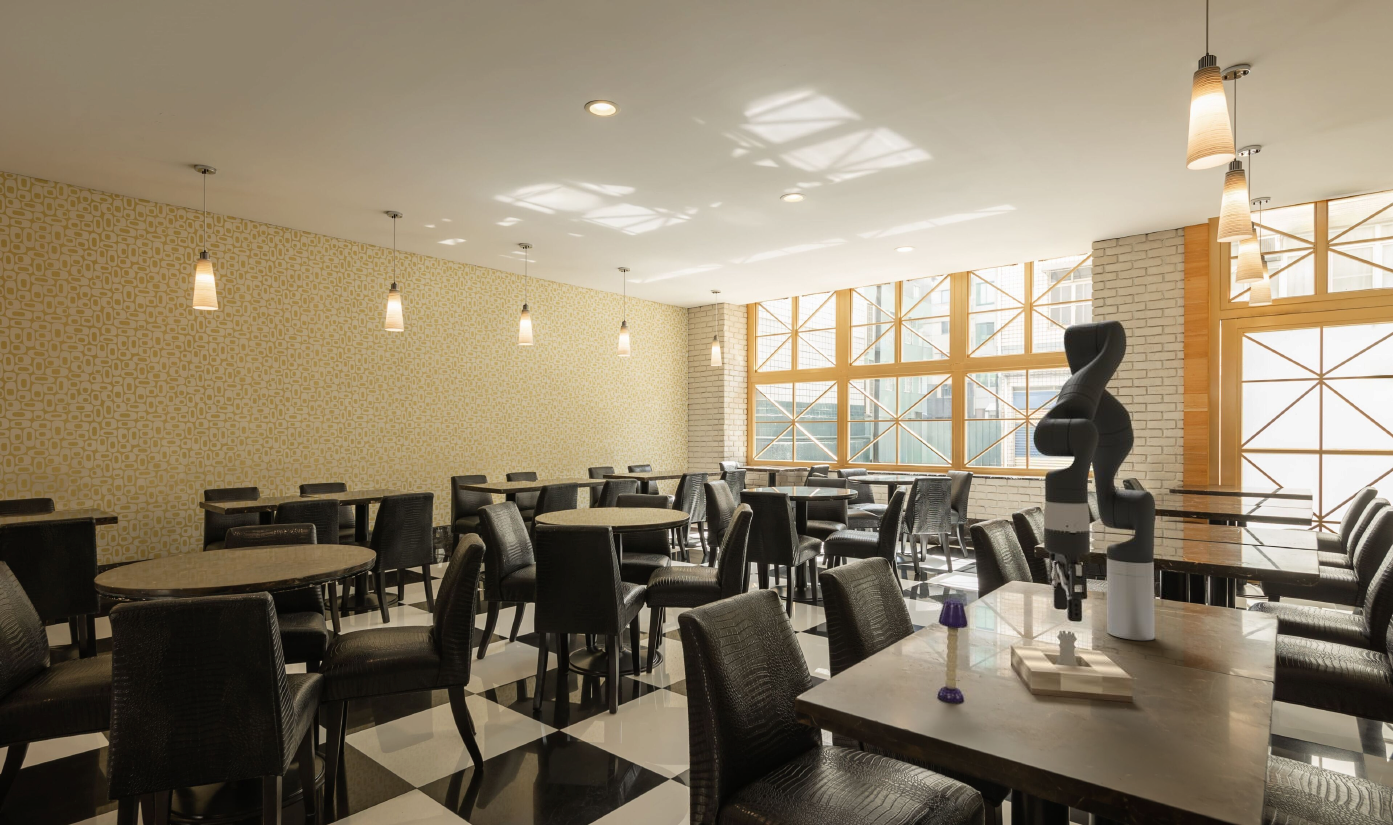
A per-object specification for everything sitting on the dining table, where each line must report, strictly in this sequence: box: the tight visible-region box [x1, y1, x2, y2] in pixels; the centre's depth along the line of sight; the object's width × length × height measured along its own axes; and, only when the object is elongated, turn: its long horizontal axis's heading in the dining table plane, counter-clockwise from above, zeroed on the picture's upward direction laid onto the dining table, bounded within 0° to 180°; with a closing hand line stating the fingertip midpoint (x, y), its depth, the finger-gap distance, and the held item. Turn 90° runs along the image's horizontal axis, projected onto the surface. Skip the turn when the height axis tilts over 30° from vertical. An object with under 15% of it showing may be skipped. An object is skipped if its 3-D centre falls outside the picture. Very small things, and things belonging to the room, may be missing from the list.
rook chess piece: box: [1055, 630, 1078, 666], centre depth 131 cm, size 4×4×8 cm
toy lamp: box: [937, 598, 968, 704], centre depth 121 cm, size 5×5×17 cm
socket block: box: [1010, 644, 1134, 703], centre depth 130 cm, size 16×16×4 cm
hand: (1067, 615), depth 131 cm, fingers open, 8 cm apart
